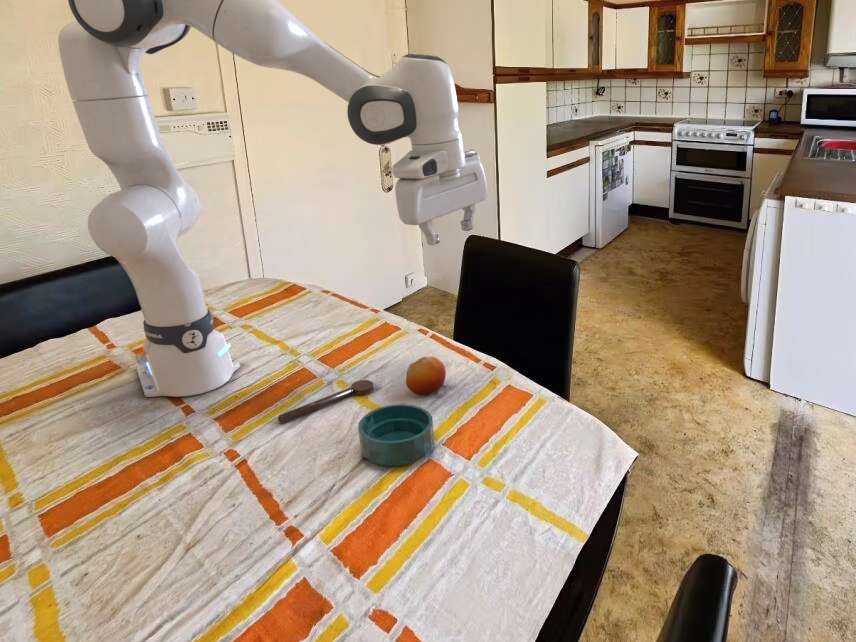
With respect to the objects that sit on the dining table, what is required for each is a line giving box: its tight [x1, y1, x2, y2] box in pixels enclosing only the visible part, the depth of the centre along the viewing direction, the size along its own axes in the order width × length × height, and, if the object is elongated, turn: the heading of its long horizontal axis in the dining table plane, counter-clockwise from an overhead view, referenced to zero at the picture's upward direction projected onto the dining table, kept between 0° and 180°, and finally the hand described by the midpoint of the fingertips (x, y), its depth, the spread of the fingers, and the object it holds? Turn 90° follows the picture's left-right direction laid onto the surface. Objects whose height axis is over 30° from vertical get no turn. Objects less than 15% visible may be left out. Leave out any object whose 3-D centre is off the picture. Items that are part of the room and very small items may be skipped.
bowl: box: [357, 403, 435, 467], centre depth 105 cm, size 12×12×5 cm
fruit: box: [405, 356, 447, 397], centre depth 122 cm, size 8×8×8 cm
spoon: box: [277, 379, 375, 424], centre depth 119 cm, size 4×20×2 cm, turn 135°
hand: (451, 236), depth 115 cm, fingers open, 8 cm apart
